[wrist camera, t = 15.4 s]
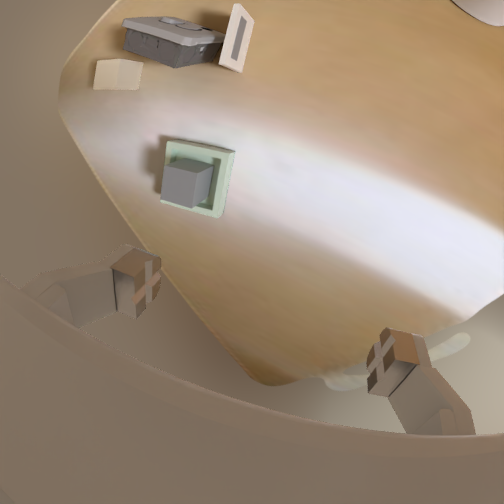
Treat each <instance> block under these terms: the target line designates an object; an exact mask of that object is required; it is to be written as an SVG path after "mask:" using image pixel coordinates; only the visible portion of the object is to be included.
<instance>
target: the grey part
mask: <svg viewBox="0 0 504 504" xmlns="http://www.w3.org/2000/svg"><path fill="white" fill-rule="evenodd" d="M214 166H215V165H212V164H208V163H204V162H200V161H196V160H191V159H187V158H184V159H181V160H178V161H175V162H172V163H169V164H167V165H164V173H163V181H162V189H161V200H165V201H168V202H171V203H175V204H178V205H181V206H185V207H188V208H191V209H192V208H193V207H195V206H196V205H197V204H199V203H200V202H201V201H203V200H204V199H206V198H207V197H208V196H209V193H210V187H211V182H212V177H213V171H214Z"/></svg>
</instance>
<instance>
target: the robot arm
mask: <svg viewBox="0 0 504 504" xmlns="http://www.w3.org/2000/svg"><path fill="white" fill-rule="evenodd" d="M452 1H453V2H454V3H456V4H457V5H458V6H459V7H460V8H462V9H463V10H464V11H466V12H467V13H469V14H470V15H472V16H473V17H475V18H477V19H478V20H480V21H483V22H485V23H487V24H490V25H494V26H504V0H452ZM160 268H161V258H160V257H159V256H157V255H154V254H152V253H149V252H147V251H144V250H141V249H138V248H136V247H133V246H131V245H128V244H122V245H121V246H120V247H118V248H117V249H116V250H114V251H113V252H112V253H110V254H109V255H108V256H106V257H105V258H104V259H102V260H101V261H100V262H98V263H97V262H90V263H85V264H80V265H76V266H71V267H66V268H61V269H57V270H52V271H48V272H43V273H40V274H38V275H37V276H36V277H34V278H33V279H32V280H30V281H29V282H28V283H26V284H25V285H24V286H22V287H21V288H20V289H19V288H18V287H16V286H15V285H14V284H12V283H11V282H10V281H8V280H7V279H5V277H3V276H2V275H1V274H0V504H504V433H497V434H483V435H476V433H475V428H474V423H473V419H472V415H471V411H470V409H469V408H468V407H467V405H466V404H465V403H464V402H463V400H462V399H461V398H460V397H459V396H458V394H457V393H456V392H455V391H454V390H453V388H452V387H451V386H450V385H449V384H448V382H447V381H446V380H445V379H444V378H443V377H442V376H441V374H440V373H439V372H438V371H437V370H436V369H435V368H432V365H431V362H430V358H429V355H428V351H427V348H426V344H425V341H424V338H423V337H422V336H421V335H417V334H413V333H407V332H403V331H399V330H395V329H391V328H387V327H386V328H385V329H384V330H383V331H382V333H381V334H380V341H379V342H377V343H375V344H374V345H373V346H372V348H371V350H370V352H369V354H368V357H367V363H366V364H367V370H368V371H369V373H370V376H369V377H368V378H367V383H368V393H369V394H374V395H379V396H384V397H389V398H388V400H389V401H390V403H391V405H392V407H393V409H394V411H395V412H396V414H397V416H398V418H399V420H400V422H401V424H402V425H403V427H404V429H405V431H406V433H407V434H405V433H394V432H393V433H392V432H384V431H375V430H368V429H361V428H354V427H348V426H342V425H336V424H331V423H326V422H321V421H316V420H311V419H307V418H303V417H298V416H294V415H290V414H286V413H282V412H278V411H275V410H271V409H268V408H264V407H261V406H257V405H254V404H250V403H247V402H244V401H241V400H238V399H235V398H232V397H229V396H226V395H223V394H220V393H217V392H214V391H211V390H209V389H206V388H203V387H201V386H198V385H195V384H193V383H190V382H188V381H185V380H183V379H180V378H178V377H175V376H173V375H171V374H168V373H166V372H164V371H161V370H159V369H157V368H155V367H153V366H150V365H148V364H146V363H144V362H142V361H140V360H138V359H135V358H133V357H131V356H129V355H127V354H125V353H123V352H121V351H119V350H117V349H115V348H114V347H112V346H110V345H108V344H106V343H104V342H102V341H100V340H99V339H97V338H95V337H93V336H91V335H90V334H88V333H86V332H85V331H83V330H81V329H79V328H80V327H82V326H85V325H87V324H90V323H92V322H94V321H97V320H99V319H102V318H104V317H106V316H109V315H111V314H114V313H116V312H117V311H118V312H120V313H122V314H125V315H127V316H129V317H132V318H134V319H137V318H138V317H139V316H140V315H141V314H142V312H143V311H144V310H145V309H146V303H148V302H151V301H153V300H154V298H155V297H156V296H157V293H158V291H159V288H160V284H161V277H160V275H159V273H158V270H159V269H160Z"/></svg>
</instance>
